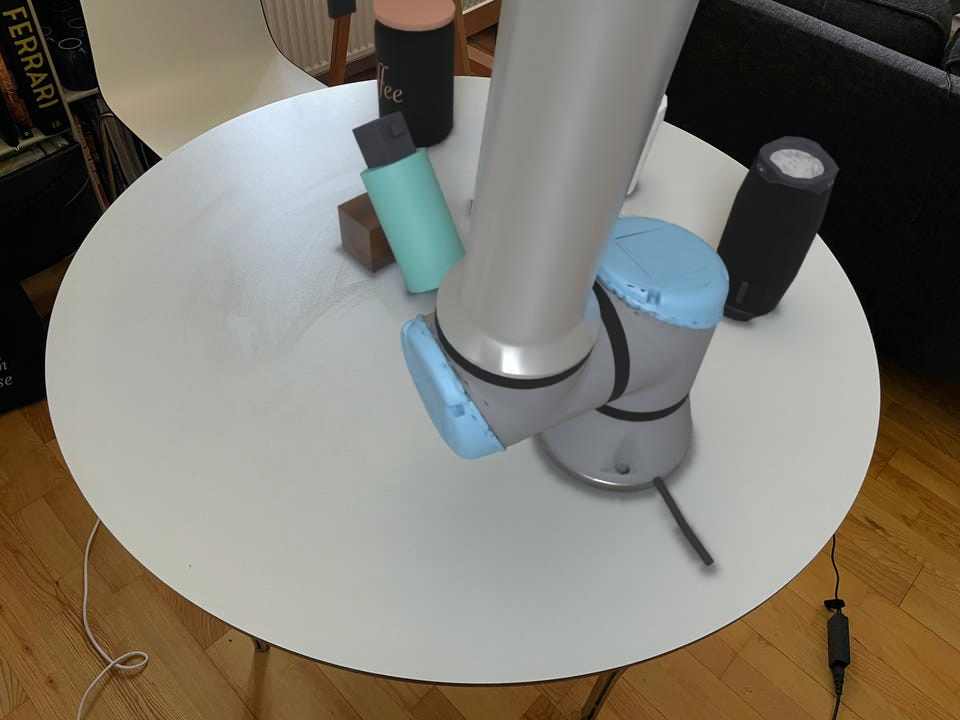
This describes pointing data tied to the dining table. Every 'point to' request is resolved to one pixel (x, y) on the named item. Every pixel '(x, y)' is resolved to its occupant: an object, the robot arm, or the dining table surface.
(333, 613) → the dining table surface
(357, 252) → the block
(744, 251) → the portable speaker
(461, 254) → the spray bottle
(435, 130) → the coffee jar
